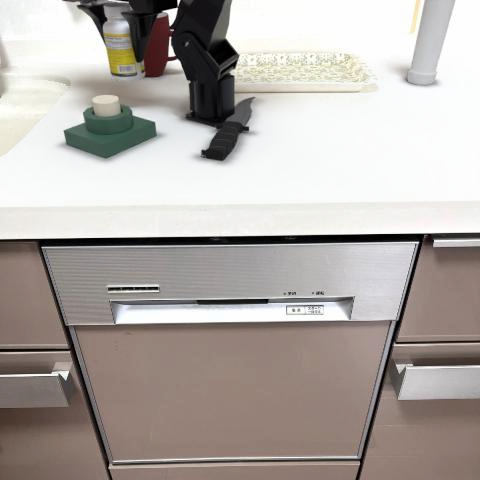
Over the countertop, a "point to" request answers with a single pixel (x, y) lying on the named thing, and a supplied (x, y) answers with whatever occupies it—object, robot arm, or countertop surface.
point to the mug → (158, 47)
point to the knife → (229, 132)
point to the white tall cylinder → (430, 40)
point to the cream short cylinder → (106, 105)
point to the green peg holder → (109, 132)
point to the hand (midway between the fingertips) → (126, 59)
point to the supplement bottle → (120, 44)
